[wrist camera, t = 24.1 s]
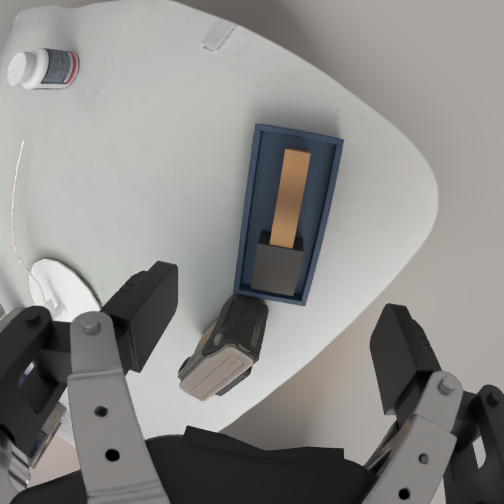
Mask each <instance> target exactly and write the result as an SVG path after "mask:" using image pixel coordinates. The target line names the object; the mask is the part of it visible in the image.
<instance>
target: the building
mask: <svg viewBox="0 0 504 504" xmlns="http://www.w3.org/2000/svg"><path fill="white" fill-rule="evenodd" d="M26 377H27V376H26V375H25V374H24V373H23V374H22V375H21V377H20V379H19V384H18V386H19V387H20V385H21V384H22V383H23V381H24V380H25V378H26ZM66 409H67V408H65V407H64V406H63V405H61V404H60V403H58V402H57V404H56V405H55V407H54V409H53V410H52V412H51V414H50V415H49V417H48V419H47V420H46V422H45V424H44V426H43V427H42V429H41V431H40V433H39V435H38V436H37V438H36V440H35V442H34V444H33V446H32V447H31V449H30V451H29V453H28V455H27V459H28V462H29V466H31V467H32V468H33V469H35V468H36V466H37V464H38V462H39V460H40V459H41V457H42V455H43V454H44V452H45V450H46V449H47V447H48V446H49V444H50V442H51V440H52V439H53V437H54V435H55V434H56V432H57V431H58V429H59V427H60V426H61V424H62V423H61V422H60V419H61V418H62V416H63V414H64V413H65V411H66Z"/></svg>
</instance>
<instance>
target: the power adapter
mask: <svg viewBox="0 0 504 504" xmlns="http://www.w3.org/2000/svg"><path fill="white" fill-rule="evenodd" d="M4 315H5V312H4V310H3V308H2V306H1V305H0V319H1V318H2V317H3V316H4Z"/></svg>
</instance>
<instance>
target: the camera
mask: <svg viewBox="0 0 504 504" xmlns="http://www.w3.org/2000/svg"><path fill="white" fill-rule="evenodd" d="M267 317H268V307H267V305H265V304H263V303H262V302H261V301H260V300H258V298H256V297H251V296H246V295H241V294H236V293H233V294H232V296H231V297H230V298H229V299H228V300H227V301H226V303H225V304H224V306H223V308H222V310H221V313H220V315H219V316H218V317H217V319H216V320H215V321H214V322H213V323H212V324H211V325H210V326H209V327H208V328H207V329H206V330H205V331H204V333H203V335H202V337H201V339H200V341H199V343H198V345H197V348H196V350H195V352H194V354H193V355H192V356H191V357H188V358H187V359H186V360H185V361H184V363H183V364H182V366H181V367H180V369H179V371H178V374H179V375H178V378H179V379H181V382H180V385H179V387H180V388H181V390H183V391H185V392H186V393H188V394H190V395H191V396H193V397H195V398H197V399H198V400H200V401H203V402H204V401H206V400H207V399H209V398H210V397H212V396H213V395H214V394H215V395H219V396H222V395H223V394H225V393H226V392H228V391H229V390H230V389H232V388H233V387H234V386H236V385H237V384H238V383H240V382H241V381H242V380H244V379H245V378H246V377H248V376H249V375H250V373H251V369H252V365H253V364H254V363H255V362H257V361H258V360H259V354H260V350H261V344H262V342H263V336H264V331H265V325H266V320H267Z"/></svg>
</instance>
